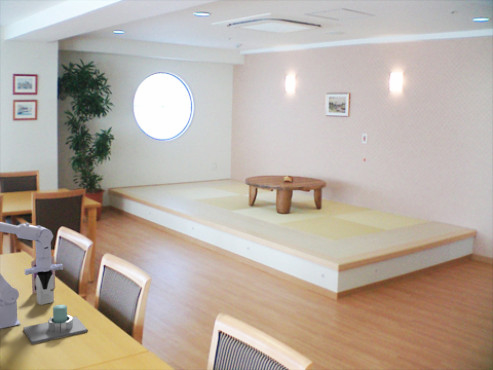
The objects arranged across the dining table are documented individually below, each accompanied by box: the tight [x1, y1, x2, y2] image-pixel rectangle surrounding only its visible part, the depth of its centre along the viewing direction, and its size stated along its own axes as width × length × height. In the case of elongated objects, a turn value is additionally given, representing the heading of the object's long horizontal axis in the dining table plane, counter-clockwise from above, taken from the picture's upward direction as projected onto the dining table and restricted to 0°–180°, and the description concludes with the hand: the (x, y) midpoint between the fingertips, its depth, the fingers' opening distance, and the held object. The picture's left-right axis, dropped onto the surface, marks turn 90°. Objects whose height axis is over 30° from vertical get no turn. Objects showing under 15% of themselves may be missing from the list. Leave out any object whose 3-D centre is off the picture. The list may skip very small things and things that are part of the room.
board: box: [23, 315, 88, 345], centre depth 200 cm, size 20×14×1 cm
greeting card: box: [30, 256, 56, 295], centre depth 241 cm, size 11×7×15 cm, turn 143°
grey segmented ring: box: [47, 314, 73, 332], centre depth 201 cm, size 9×9×3 cm
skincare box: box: [36, 275, 55, 306], centre depth 226 cm, size 6×4×12 cm
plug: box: [52, 304, 68, 323], centre depth 200 cm, size 5×5×8 cm
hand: (44, 288), depth 214 cm, fingers closed
